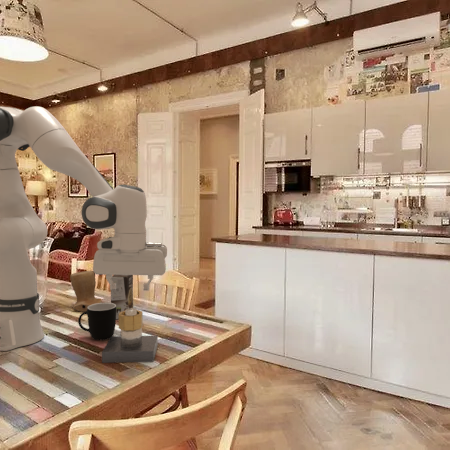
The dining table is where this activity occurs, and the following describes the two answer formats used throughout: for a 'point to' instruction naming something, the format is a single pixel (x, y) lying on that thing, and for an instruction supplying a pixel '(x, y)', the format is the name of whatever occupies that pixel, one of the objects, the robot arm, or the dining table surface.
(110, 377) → the dining table surface
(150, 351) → the grey plate with knob
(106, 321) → the mug
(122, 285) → the coffee box
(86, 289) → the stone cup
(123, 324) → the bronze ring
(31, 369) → the dining table surface
